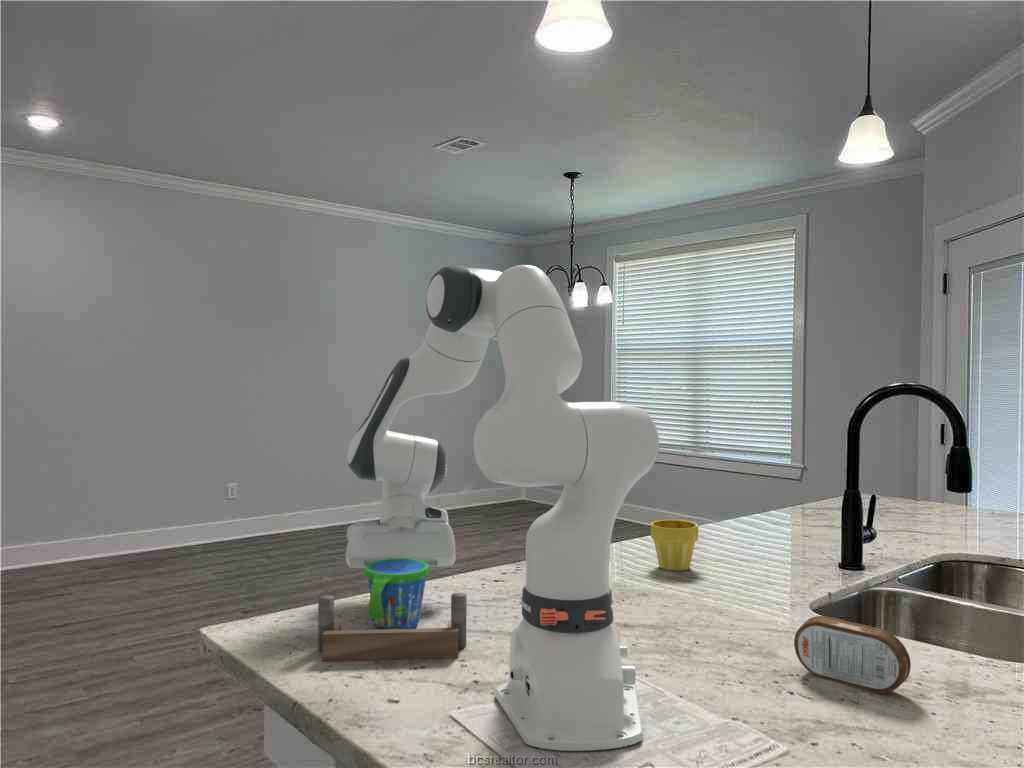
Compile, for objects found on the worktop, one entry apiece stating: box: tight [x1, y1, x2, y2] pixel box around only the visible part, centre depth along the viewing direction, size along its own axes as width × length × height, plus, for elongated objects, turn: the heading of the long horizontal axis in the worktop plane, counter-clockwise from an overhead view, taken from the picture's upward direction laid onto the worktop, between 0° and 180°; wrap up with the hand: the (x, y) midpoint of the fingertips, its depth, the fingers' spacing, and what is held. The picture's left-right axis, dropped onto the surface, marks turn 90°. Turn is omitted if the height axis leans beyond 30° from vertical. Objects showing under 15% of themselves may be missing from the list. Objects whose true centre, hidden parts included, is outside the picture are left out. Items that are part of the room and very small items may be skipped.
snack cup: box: [364, 558, 430, 630], centre depth 129 cm, size 16×10×10 cm
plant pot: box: [650, 519, 699, 572], centre depth 170 cm, size 10×10×10 cm
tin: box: [793, 615, 912, 694], centre depth 106 cm, size 15×3×8 cm, turn 48°
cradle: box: [317, 592, 468, 662], centre depth 119 cm, size 10×23×8 cm, turn 95°
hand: (400, 585), depth 138 cm, fingers closed
